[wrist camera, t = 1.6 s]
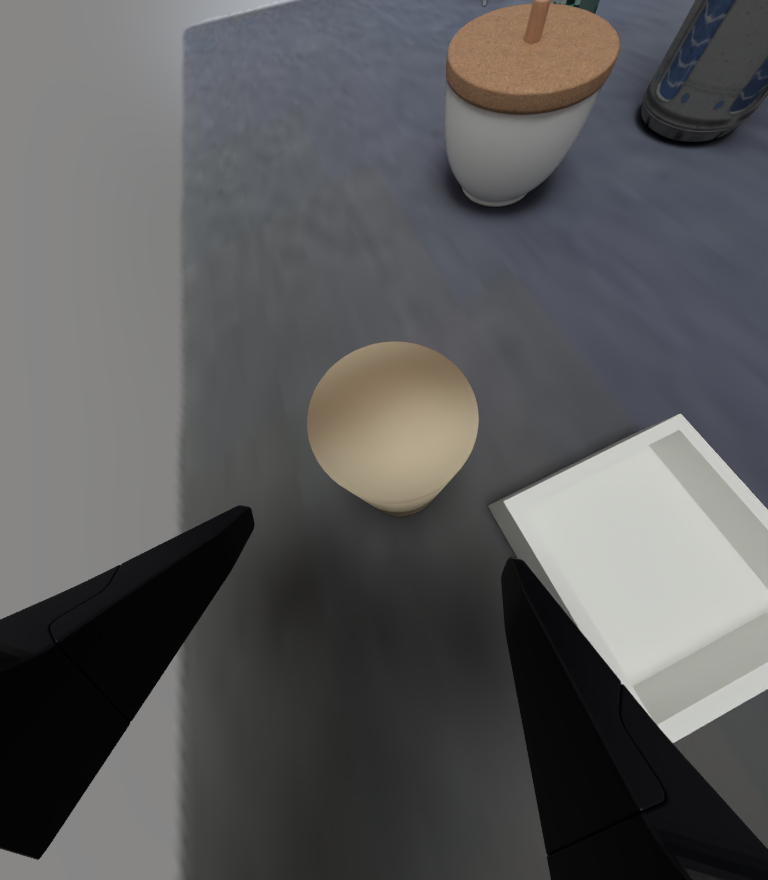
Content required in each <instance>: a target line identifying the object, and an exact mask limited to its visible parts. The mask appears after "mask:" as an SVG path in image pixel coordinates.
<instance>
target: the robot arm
mask: <svg viewBox="0 0 768 880" xmlns="http://www.w3.org/2000/svg"><path fill="white" fill-rule="evenodd" d="M253 529H254V519H253V514H252V510H251V508H250V507H247V506H241V505H239V506H236V507H234V508H232V509H230V510H228V511H226V512H224V513H222V514H220V515H218V516H216V517H214V518H212V519H210V520H208V521H206V522H204V523H202V524H200V525H198V526H196V527H194V528H192V529H190V530H188V531H186V532H184V533H182V534H180V535H178V536H176V537H174V538H172V539H171V540H168V541H166V542H164V543H162V544H160V545H158V546H156V547H154V548H152V549H150V550H148V551H146V552H144V553H142V554H140V555H139V556H136V557H134V558H132V559H130V560H129V561H126V562H124V563H122V565H118V566H116V567H114V568H112V569H110V570H108V571H106V572H104V573H102V574H100V575H98V576H96V577H94V578H92V579H90V580H88V581H86V582H83V583H81V584H79V585H77V586H75V587H73V588H70V589H68V590H66V591H64V592H62V593H59V594H57V595H55V596H53V597H51V598H48V599H46V600H44V601H41V602H39V603H37V604H35V605H32V606H30V607H28V608H25V609H23V610H21V611H19V612H16V613H14V614H12V615H10V616H7V617H5V618H3V619H1V620H0V849H3V850H6V851H10V852H13V853H16V854H20V855H23V856H27V857H30V858H34V859H37V860H38V859H40V857H41V856H42V855H43V853H44V852H45V851H46V849H47V848H48V847H49V845H50V844H51V842H52V841H53V839H54V838H55V836H56V835H57V833H58V832H59V830H60V829H61V827H62V826H63V824H64V823H65V821H66V820H67V818H68V817H69V815H70V813H71V812H72V811H73V809H74V808H75V806H76V804H77V803H78V802H79V800H80V798H81V797H82V795H83V794H84V792H85V791H86V789H87V788H88V786H89V784H90V783H91V782H92V780H93V779H94V777H95V776H96V774H97V773H98V771H99V770H100V768H101V767H102V765H103V764H104V762H105V761H106V759H107V758H108V756H109V755H110V753H111V752H112V750H113V749H114V747H115V746H116V744H117V743H118V741H119V740H120V738H121V737H122V735H123V734H124V732H125V731H126V729H127V727H128V726H129V724H130V722H131V721H132V720H133V718H134V717H135V715H136V714H137V712H138V711H139V709H140V708H141V706H142V704H143V703H144V701H145V700H146V699H147V697H148V696H149V694H150V693H151V691H152V690H153V688H154V686H155V685H156V683H157V682H158V680H159V679H160V677H161V676H162V674H163V673H164V671H165V670H166V668H167V667H168V665H169V664H170V662H171V661H172V659H173V658H174V656H175V655H176V653H177V652H178V650H179V649H180V647H181V646H182V644H183V643H184V641H185V640H186V638H187V637H188V635H189V634H190V632H191V631H192V629H193V628H194V626H195V625H196V623H197V622H198V620H199V619H200V617H201V616H202V614H203V613H204V611H205V610H206V608H207V606H208V605H209V603H210V602H211V600H212V599H213V597H214V596H215V594H216V593H217V591H218V590H219V588H220V587H221V585H222V584H223V582H224V581H225V579H226V578H227V576H228V575H229V573H230V572H231V570H232V568H233V567H234V565H235V563H236V561H237V559H238V557H239V556H240V554H241V552H242V550H243V548H244V546H245V544H246V542H247V541H248V539H249V537H250V535H251V533H252V531H253ZM501 584H502V597H503V610H504V622H505V632H506V638H507V644H508V649H509V654H510V660H511V665H512V671H513V676H514V681H515V687H516V692H517V698H518V703H519V708H520V714H521V719H522V724H523V730H524V735H525V741H526V746H527V751H528V757H529V762H530V768H531V773H532V778H533V784H534V789H535V794H536V800H537V805H538V811H539V816H540V821H541V827H542V832H543V838H544V843H545V848H546V853H547V855H548V856H547V860H548V866H549V871H550V876H551V880H768V849H767V848H766V847H765V846H764V845H763V843H762V842H761V841H760V840H759V839H758V838H757V837H756V836H755V835H754V833H753V832H752V831H751V830H750V829H749V828H748V827H747V826H746V825H745V823H744V822H743V821H742V820H741V819H740V818H739V817H738V816H737V815H736V813H735V812H734V811H733V810H732V809H731V808H730V807H729V806H728V805H727V803H726V802H725V801H724V800H723V799H722V798H721V797H720V796H719V794H718V793H717V792H716V791H715V790H714V789H713V788H712V787H711V786H710V784H709V783H708V782H707V781H706V780H705V779H704V778H703V777H702V776H701V774H700V773H699V772H698V771H697V770H696V769H695V768H694V767H693V766H692V764H691V763H690V762H689V761H688V760H687V759H686V758H685V757H684V755H683V754H682V753H681V752H680V751H679V750H678V749H677V747H676V746H675V745H674V744H673V743H672V742H671V741H670V739H669V738H668V737H667V736H666V735H665V734H664V733H663V731H662V730H661V729H660V728H659V727H658V725H657V724H656V723H655V722H654V721H653V719H652V718H651V717H650V716H649V715H648V713H647V712H646V711H645V710H644V709H643V707H642V706H641V705H640V704H639V703H638V701H637V700H636V699H635V698H634V696H633V695H632V694H631V693H630V691H629V690H628V689H627V688H626V686H625V685H624V684H621V681H620V679H619V678H618V677H617V675H616V674H615V673H614V672H613V671H612V669H611V668H610V667H609V666H608V664H607V663H606V662H605V661H604V659H603V658H602V657H601V656H600V654H599V653H598V652H597V651H596V649H595V648H594V647H593V646H592V644H591V643H590V642H589V641H588V639H587V638H586V637H585V636H584V635H583V633H582V632H581V631H580V630H579V628H578V627H577V626H576V625H575V623H574V622H573V621H572V620H571V618H570V617H569V616H568V615H567V613H566V612H565V611H564V610H563V608H562V607H561V606H560V605H559V603H558V602H557V601H556V600H555V599H554V597H553V596H552V595H551V594H550V592H549V591H548V590H547V589H546V587H545V586H544V585H543V584H542V582H541V581H540V580H539V579H538V577H537V576H536V575H535V574H534V572H533V571H532V570H531V569H530V567H529V566H528V565H527V564H526V563H525V561H523V560H522V559H518V558H512V557H510V558H509V559H508V560H507V562H506V565H505V567H504V570H503V572H502V576H501Z"/></svg>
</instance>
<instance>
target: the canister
mask: <svg viewBox="0 0 768 880" xmlns="http://www.w3.org/2000/svg"><path fill="white" fill-rule="evenodd" d="M478 420H479V417H478V407H477V403H476V398H475V396H474V393H473V390H472V388H471V386H470V384H469V382H468V381H467V379H466V378H465V376H464V375H463V374H462V372H461V371H460V370H459V369H458V368H457V367H456V366H455V365H454V364H453V363H452V362H451V361H450V360H448V359H447V358H446V357H444V356H443V355H441V354H439V353H438V352H436V351H434V350H432V349H429V348H427V347H424V346H421V345H418V344H413V343H408V342H383V343H376V344H373V345H369V346H366V347H363V348H360V349H358V350H356V351H354V352H352V353H350V354H348V355H346V356H345V357H343V358H342V359H340V360H339V361H338V362H337V363H336V364H334V365H333V366H332V367H331V368H330V369H329V370H328V371H327V373H326V374H325V375H324V376H323V378H322V379H321V380H320V382H319V384H318V385H317V387H316V389H315V391H314V393H313V396H312V398H311V401H310V405H309V409H308V417H307V430H308V437H309V442H310V445H311V448H312V451H313V453H314V455H315V457H316V459H317V461H318V462H319V464H320V465H321V467H322V468H323V470H324V471H325V472H326V473H327V474H328V475H329V476H330V477H331V478H332V479H333V480H334V481H335V482H336V483H338V484H339V485H340V486H342V487H344V488H345V489H347V490H348V491H350V492H351V493H353V494H355V495H356V496H358V497H359V498H361V499H362V500H364V501H366V502H367V503H369V504H370V505H372V506H373V507H375V508H377V509H378V510H380V511H381V512H384V513H386V514H389V515H393V516H408V515H412V514H415V513H417V512H419V511H421V510H423V509H424V508H425V507H427V506H428V505H429V504H430V503H431V501H432V500H433V499H434V498H435V497H436V496H437V495H438V494H439V492H440V491H441V490H442V489H443V488H444V487H445V486H446V485H447V483H448V482H449V481H450V480H451V479H452V478H453V477H454V476H455V475H456V473H457V472H458V471H459V470H460V469H461V467H462V466H463V465H464V463H465V462H466V461H467V459H468V457H469V455H470V453H471V451H472V449H473V446H474V443H475V441H476V436H477V431H478Z"/></svg>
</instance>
